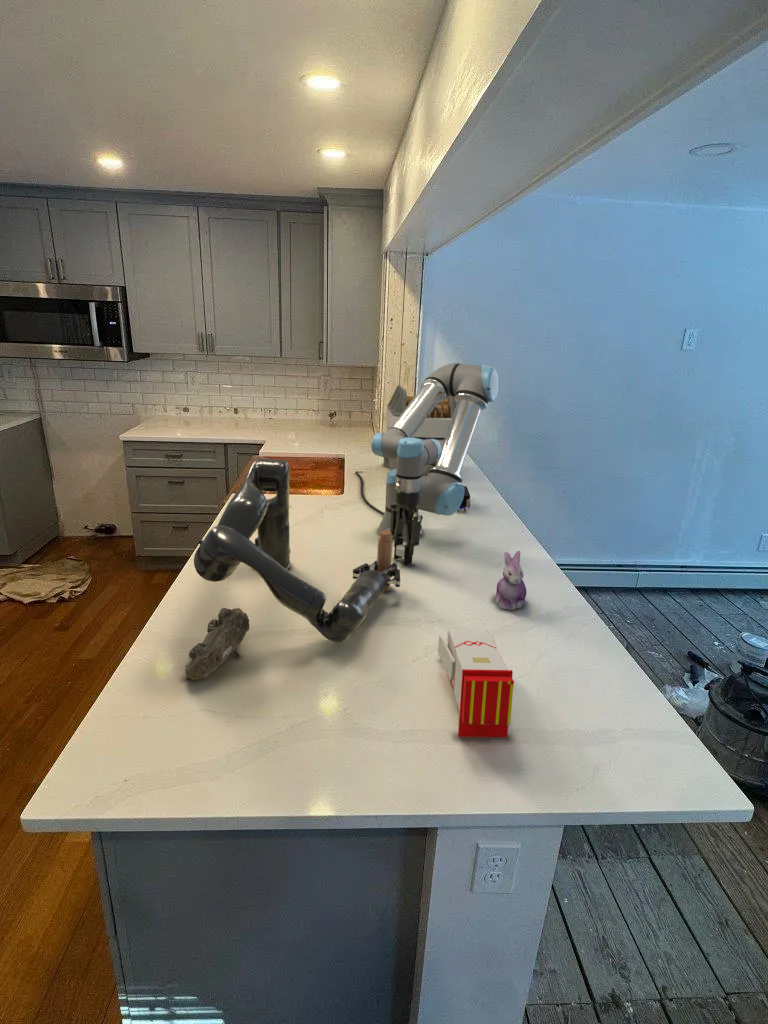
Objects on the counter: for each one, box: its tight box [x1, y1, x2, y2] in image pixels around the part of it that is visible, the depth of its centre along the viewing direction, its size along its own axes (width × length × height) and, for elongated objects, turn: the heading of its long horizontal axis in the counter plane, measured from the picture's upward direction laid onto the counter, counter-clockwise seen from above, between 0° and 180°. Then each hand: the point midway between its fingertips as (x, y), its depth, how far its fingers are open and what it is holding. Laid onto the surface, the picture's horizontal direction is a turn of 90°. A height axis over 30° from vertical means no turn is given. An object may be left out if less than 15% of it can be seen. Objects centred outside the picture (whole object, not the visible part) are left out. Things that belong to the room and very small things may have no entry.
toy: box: [437, 628, 515, 738], centre depth 117 cm, size 12×13×30 cm
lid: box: [396, 543, 406, 558], centre depth 176 cm, size 5×5×2 cm
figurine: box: [495, 550, 527, 611], centre depth 153 cm, size 9×10×15 cm
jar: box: [376, 530, 394, 593], centre depth 158 cm, size 4×4×17 cm
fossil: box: [184, 607, 250, 681], centre depth 125 cm, size 22×10×15 cm
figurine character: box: [456, 485, 472, 513], centre depth 228 cm, size 7×8×15 cm
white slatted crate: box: [383, 384, 462, 475], centre depth 268 cm, size 34×33×41 cm
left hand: (387, 564), depth 161 cm, fingers closed on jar, 4 cm apart
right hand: (402, 561), depth 177 cm, fingers closed on lid, 4 cm apart
